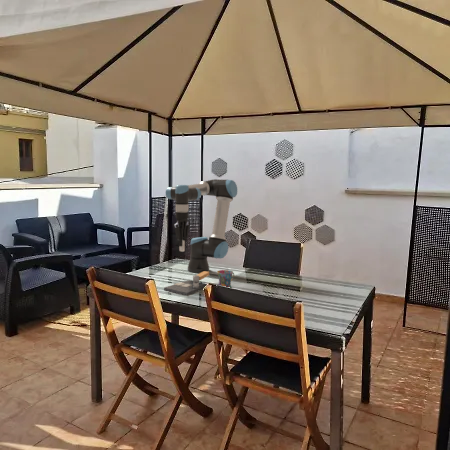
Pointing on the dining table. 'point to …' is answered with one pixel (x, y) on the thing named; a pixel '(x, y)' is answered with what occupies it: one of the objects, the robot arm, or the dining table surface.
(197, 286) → the server panel
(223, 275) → the mug
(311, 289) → the dining table surface
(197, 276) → the cable arm
